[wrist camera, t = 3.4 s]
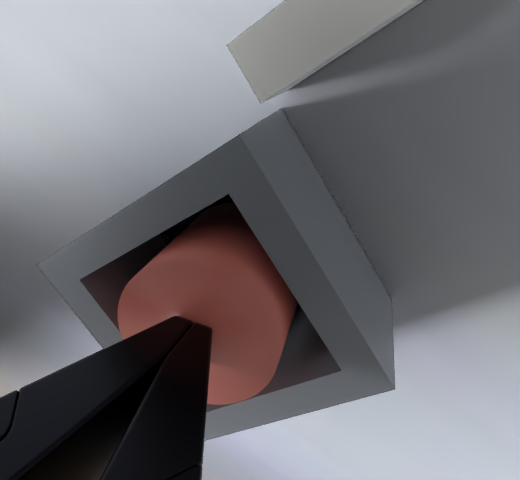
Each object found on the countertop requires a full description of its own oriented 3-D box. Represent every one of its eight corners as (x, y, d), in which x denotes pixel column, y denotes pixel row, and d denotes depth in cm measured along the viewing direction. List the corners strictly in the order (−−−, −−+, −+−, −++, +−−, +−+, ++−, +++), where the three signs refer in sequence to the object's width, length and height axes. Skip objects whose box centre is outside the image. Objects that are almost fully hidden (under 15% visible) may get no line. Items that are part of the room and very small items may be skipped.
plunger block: (224, 360, 14) (181, 446, 11) (118, 212, 13) (36, 265, 10) (391, 299, 12) (395, 389, 9) (281, 107, 10) (239, 134, 7)
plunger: (227, 332, 13) (180, 420, 10) (160, 236, 12) (86, 299, 9) (330, 290, 12) (312, 380, 8) (261, 178, 11) (213, 231, 8)
